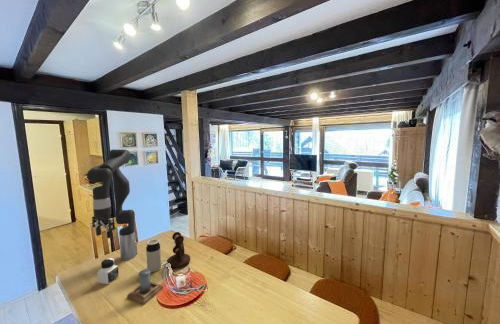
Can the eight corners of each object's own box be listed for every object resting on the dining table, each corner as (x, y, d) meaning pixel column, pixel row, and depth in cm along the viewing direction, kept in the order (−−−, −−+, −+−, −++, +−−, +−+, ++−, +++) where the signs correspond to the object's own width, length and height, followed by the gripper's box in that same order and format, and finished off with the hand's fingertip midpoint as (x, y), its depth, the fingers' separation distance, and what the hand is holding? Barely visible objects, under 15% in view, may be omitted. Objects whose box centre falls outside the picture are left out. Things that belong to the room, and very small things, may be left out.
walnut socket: (146, 283, 118) (146, 278, 118) (163, 288, 114) (162, 283, 114) (127, 297, 107) (127, 292, 107) (144, 304, 103) (144, 299, 103)
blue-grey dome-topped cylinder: (145, 285, 114) (145, 268, 113) (153, 288, 112) (153, 270, 111) (136, 292, 109) (136, 274, 108) (145, 295, 107) (144, 276, 106)
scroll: (193, 264, 137) (192, 235, 135) (170, 272, 128) (168, 241, 127) (186, 254, 149) (185, 227, 147) (164, 261, 141) (163, 232, 139)
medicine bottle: (108, 284, 117) (107, 264, 116) (98, 283, 119) (96, 262, 118) (119, 276, 124) (117, 257, 123) (108, 275, 126) (107, 256, 125)
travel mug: (163, 266, 134) (162, 239, 132) (153, 273, 127) (152, 245, 125) (154, 263, 137) (153, 237, 136) (144, 270, 130) (142, 242, 129)
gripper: (118, 206, 110) (120, 235, 111) (100, 203, 115) (102, 231, 116) (103, 210, 103) (106, 241, 104) (85, 207, 108) (87, 237, 109)
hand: (104, 236), depth 110 cm, fingers open, 8 cm apart
